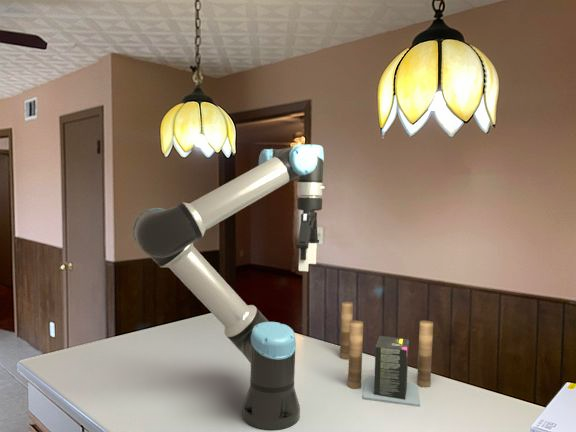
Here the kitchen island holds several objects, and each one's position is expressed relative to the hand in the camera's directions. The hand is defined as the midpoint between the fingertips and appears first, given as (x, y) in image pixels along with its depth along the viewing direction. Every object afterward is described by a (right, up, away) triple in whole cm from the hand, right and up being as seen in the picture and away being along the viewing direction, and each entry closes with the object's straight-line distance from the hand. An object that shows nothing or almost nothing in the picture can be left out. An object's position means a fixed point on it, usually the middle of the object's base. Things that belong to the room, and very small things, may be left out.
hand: (307, 267), depth 134 cm
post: (+37, -38, +5) cm, 53 cm away
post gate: (+15, -36, +26) cm, 47 cm away
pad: (+25, -38, -1) cm, 45 cm away
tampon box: (+25, -37, 0) cm, 45 cm away
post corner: (+14, -37, +3) cm, 40 cm away
